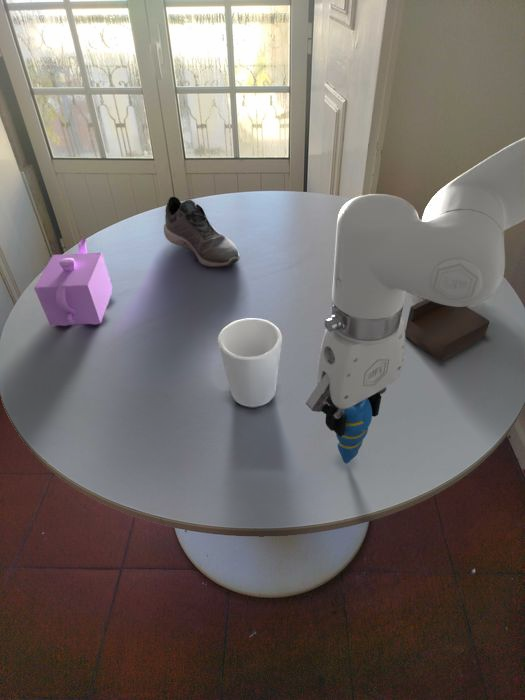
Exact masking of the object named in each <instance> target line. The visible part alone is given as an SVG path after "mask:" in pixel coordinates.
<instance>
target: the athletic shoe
mask: <svg viewBox="0 0 525 700" xmlns="http://www.w3.org/2000/svg"><path fill="white" fill-rule="evenodd" d="M164 216H165V217H164V218H165V219H164V221H165V223H164V226H163V234H164V236H165V238H166V240H167V241H169V242H170V243H172V244H174V245H176V246H180V247H183V248H187V249H189V250H191V251H192V252H193V253H194V254H195V256H196V258H197V260H198V262H199V263H200V264H201V265H203V266H206V267H210V268H222V267H227V266H230V265H232V264H234V263H236V262H238V261H239V260H240V259H241V255H240V252H239V250H238V248H237V246H236V245H235V244H234V242H233V241H232V240H230V238H228V237H226V236H225V235H224V234H222V233H220V232H219V231H218V230H217V229H216V228H215V227H214V226H213V224H212V223H211V222H210V220H209V219H208V217H207V215H206V213H205V209H204V208H202V206H200V204H199V203H197V204H196V202H195V201H194V200H192V199H186V200H184V201H182V202H181V201H180V199H179V198H178V197H176V196H170V197H169V198H168V200H167V203H166V206H165V215H164Z"/></svg>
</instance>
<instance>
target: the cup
mask: <svg viewBox="0 0 525 700" xmlns="http://www.w3.org/2000/svg"><path fill="white" fill-rule="evenodd" d="M282 342H283V335H282V332H281V330H280V329H279V328H278V327H277V326H276V325H275V324H274V323H273V322H271V321H269V320H267V319H262V318H255V317H254V318H252V317H250V318H242V319H238V320H234V321H232V322H231V323H229V324H227V325H226V326H225V327H223V328H222V330H221V331H220V332H219V334H218V337H217V343H218V347H219V348H218V349H219V352H220V356H221V359H222V363H223V368H224V370H225V374H226V375H225V376H226V378H227V382H228V387H229V390H230V393H231V396H232V399H233V401H234V402H235V403H236V404H237V403H238V404H240V405H241V406H244V407H246V408H250V409H251V410H255V409H257V408H259V407H261V406H264V405H266V404H268V403H271V402H272V401H273V400H274V398H275V395H276V393H277V386H278V385H277V384H278V378H279V377H278V376H279V369H280V360H281V351H282Z"/></svg>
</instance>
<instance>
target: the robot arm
mask: <svg viewBox="0 0 525 700" xmlns="http://www.w3.org/2000/svg"><path fill="white" fill-rule="evenodd" d="M421 220H422V221H421ZM524 221H525V137H522V138H521V139H519V140H516V141H515V142H513V143H511V144H508V145H507V146H505V147H503V148H502V149H500V150H499V151H497V152H495V153H494V154H492V155H490V156H488V157H487V158H486V159H484V160H482V161H480V162H479V163H478V164H476V165H475V166H473V167H471V168H469V169H468V170H467V171H464V172H463V173H462V174H460V175H458V176H457V177H456V178H454V179H453V180H451V181H450V182H448V183H447V184H446V185H445V186H443V187H442V188H441V189H440V190H438V191H437V193H435V195H434V196H433V197H432V198H431V199H430V200H429V202H428V204H427V206H425V209H424V211H423V215H422V218H421V219H420V217H419V214H418V211H417V210H416V208H415V207H414V206H413V204H411V202H408V201H407V200H406V199H404V198H401V197H399V196H395V195H392V194H383V193H371V194H363V195H359V196H356V197H354V198H351V199H350V200H349V201H347V202H346V203H345V204H344V205H343V206H342V207H341V209H340V211H339V213H338V216H337V221H336V231H335V245H334V263H333V275H332V290H331V305H330V317H329V318H328V319H326V320H325V321H324V327H325V331H324V334H323V337H322V340H321V341H322V342H321V345H320V351H319V357H318V364H317V375H316V383H317V385H316V386H315V388H314V389H313V391H312V393H310V395H309V397H308V399H307V400H306V402H305V405H306V406H307V407H308V408H309V409H310V410H311V411H312V412H317V413H321V412H322V413H323V414H325V426H326V427H327V429H329V430H330V431H331V432H334V433H335V435H336V434H337V435H338V436H339V437H341V436H343V435H344V433H345V425H346V415H345V414H344V410H345V408H349V407H351V406H353V405H355V404H357V403H359V402H361V401H363V400H365V399H366V398H368V400H369V402H370V404H371V408H372V417H377V416H379V413H380V406H381V401H382V395H383V394H385V392H386V391H387V387H389V386H390V385H392V384H394V383H395V382H396V381H397V380H398V379H399V377H400V375H401V373H402V372H401V371H402V367H403V362H404V354H405V346H406V336H405V330H406V324H405V323H406V322H405V318H404V315H403V309H404V303H405V299H406V293H409V294H412V295H414V296H417V297H419V298H422V299H424V300H425V299H427V300H430V301H433V302H436V303H439V304H443V305H447V306H454V307H468V308H469V307H472V306H477V305H480V304H481V303H483V302H485V301H487V300H488V299H490V298H491V297H493V295H494V294H495V293H496V292H497V291H498V290H499V288H500V287H501V284H502V282H503V279H504V276H505V271H506V252H505V251H506V250H505V231H507V230H508V229H510V228H513V227H514V226H516V225H519V224H520V223H522V222H524Z"/></svg>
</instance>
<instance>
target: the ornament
mask: <svg viewBox="0 0 525 700" xmlns="http://www.w3.org/2000/svg"><path fill="white" fill-rule="evenodd" d="M344 414H345V415H346V425H345V433H344V435H343V436H341V437H339V436H338V435H337V434H336V433H335V435H336V439H337V443H336V445H337V449H338V452H339V454H340V457H341V459H342V461H343V463H345V464H349V463H350V462H351V461H352V460H353V459H354V458H356V456H357V455H358V454H359V451H360V449H361V447H362V445H363V441H364V440H365V438H366V436H367V434H368V431H369V427H370V425H371V423H372V419H373V416H372V408H371V404H370V402H369V400H368V398H366V399H365V400H363V401H361V402H359V403H357V404H355V405H353V406H351V407H349V408H345V410H344Z"/></svg>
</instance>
